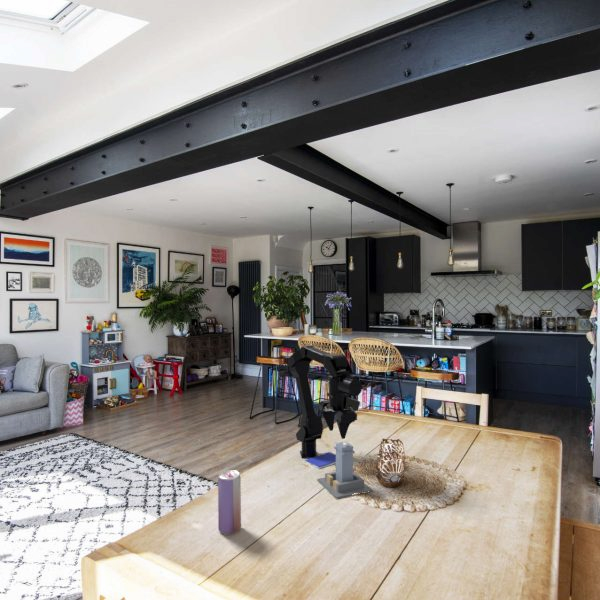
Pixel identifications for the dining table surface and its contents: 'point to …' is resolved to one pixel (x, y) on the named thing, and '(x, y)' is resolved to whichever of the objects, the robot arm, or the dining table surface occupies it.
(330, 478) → the chassis
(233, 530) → the beverage can
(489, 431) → the dining table surface
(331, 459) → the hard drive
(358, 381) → the robot arm
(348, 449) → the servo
